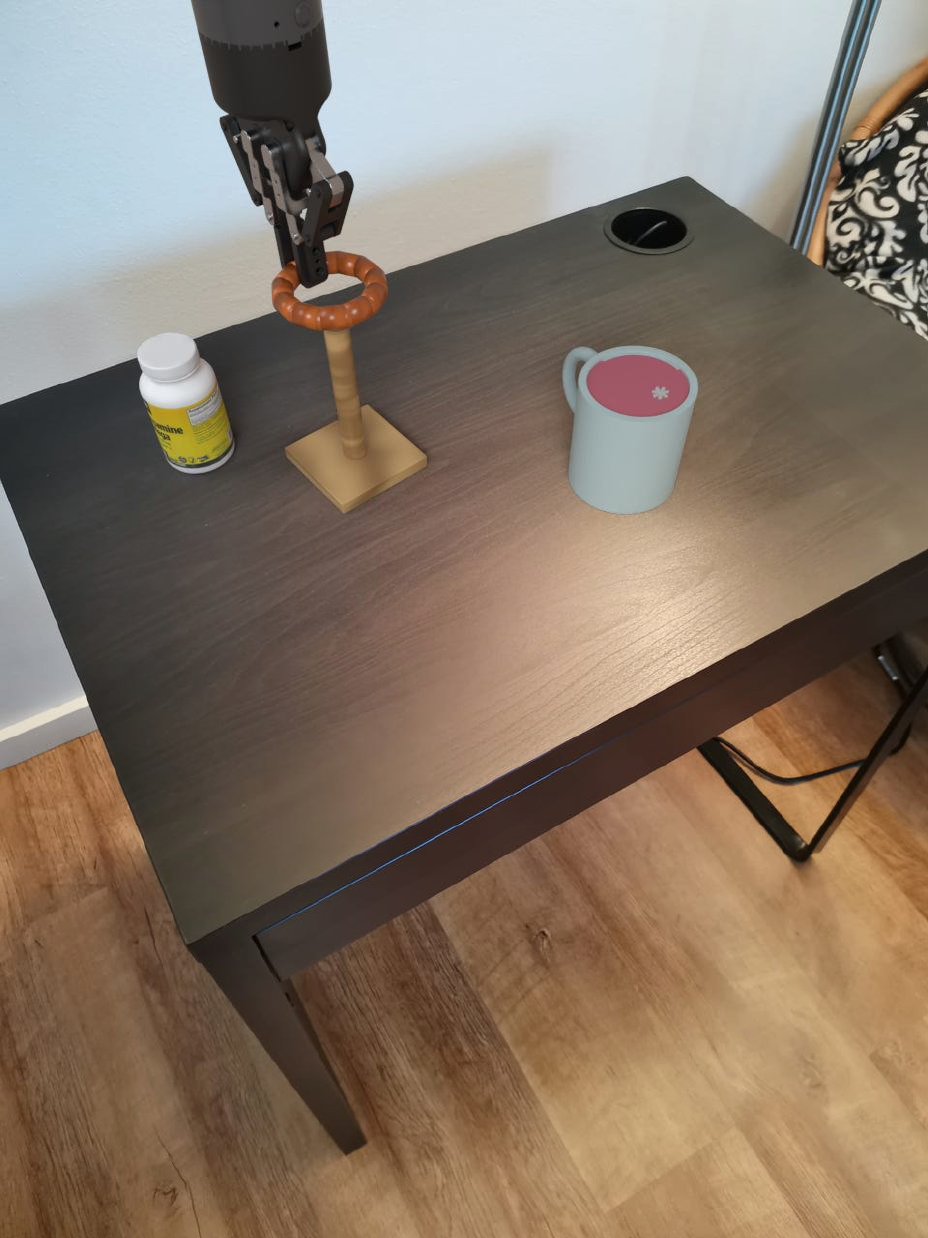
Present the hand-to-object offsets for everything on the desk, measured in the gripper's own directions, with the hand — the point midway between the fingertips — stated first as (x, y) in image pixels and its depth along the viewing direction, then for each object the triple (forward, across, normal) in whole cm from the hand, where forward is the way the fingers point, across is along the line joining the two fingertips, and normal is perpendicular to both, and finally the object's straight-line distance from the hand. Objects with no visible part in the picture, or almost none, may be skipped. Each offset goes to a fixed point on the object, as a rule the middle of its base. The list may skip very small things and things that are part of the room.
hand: (305, 275), depth 66 cm
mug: (+17, +17, +17) cm, 30 cm away
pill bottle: (+17, -7, -10) cm, 21 cm away
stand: (+17, +3, 0) cm, 17 cm away
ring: (0, +3, 0) cm, 3 cm away
